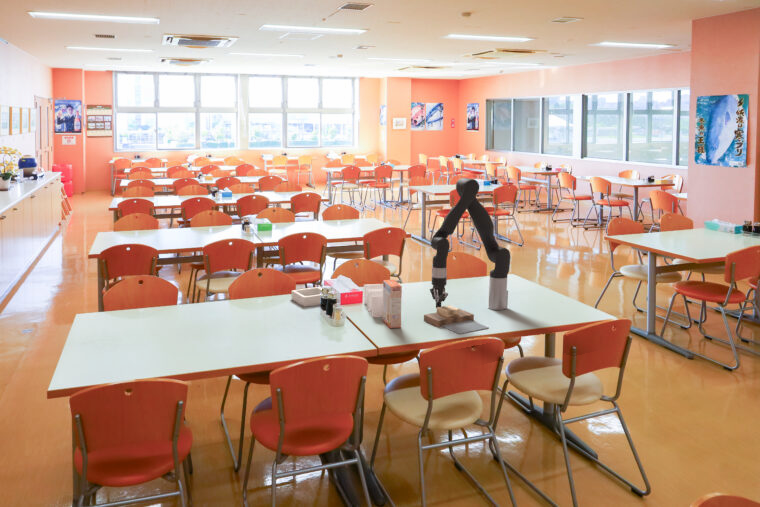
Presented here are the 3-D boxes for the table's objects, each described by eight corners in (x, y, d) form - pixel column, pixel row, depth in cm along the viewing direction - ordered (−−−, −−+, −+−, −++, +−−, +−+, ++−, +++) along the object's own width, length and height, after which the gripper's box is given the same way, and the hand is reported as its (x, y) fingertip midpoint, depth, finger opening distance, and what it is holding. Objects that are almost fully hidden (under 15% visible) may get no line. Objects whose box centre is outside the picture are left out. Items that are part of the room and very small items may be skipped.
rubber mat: (469, 320, 323) (469, 319, 323) (488, 328, 310) (488, 327, 310) (440, 325, 314) (440, 324, 314) (459, 334, 301) (459, 333, 301)
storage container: (393, 316, 329) (393, 295, 327) (372, 317, 327) (372, 296, 325) (383, 303, 353) (383, 283, 351) (363, 304, 351) (363, 284, 349)
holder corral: (318, 295, 368) (318, 286, 367) (332, 302, 354) (332, 293, 353) (291, 299, 359) (291, 290, 358) (304, 306, 345) (303, 297, 344)
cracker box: (401, 328, 310) (402, 285, 306) (389, 328, 308) (389, 286, 304) (394, 319, 323) (394, 279, 319) (382, 320, 322) (382, 279, 318)
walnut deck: (458, 314, 333) (459, 308, 332) (473, 320, 323) (473, 314, 322) (423, 320, 322) (423, 314, 321) (438, 326, 312) (438, 320, 311)
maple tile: (449, 310, 328) (449, 305, 327) (459, 314, 321) (459, 309, 321) (436, 313, 324) (436, 307, 323) (446, 317, 317) (446, 311, 317)
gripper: (453, 277, 322) (452, 310, 325) (437, 272, 333) (436, 304, 337) (440, 279, 318) (440, 313, 322) (425, 273, 329) (425, 306, 333)
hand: (438, 308), depth 329 cm, fingers closed
